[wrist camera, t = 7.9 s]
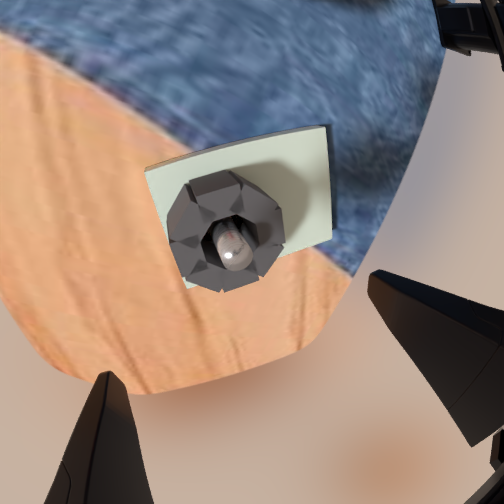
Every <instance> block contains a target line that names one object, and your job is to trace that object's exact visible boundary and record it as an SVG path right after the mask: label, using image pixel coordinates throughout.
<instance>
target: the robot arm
mask: <svg viewBox="0 0 504 504" xmlns="http://www.w3.org/2000/svg"><path fill="white" fill-rule="evenodd" d="M432 1H433V5H434V9H435V13H436V17H437V22H438V27H439V33H440V39H441V44H442V46H443V47H444V48H447V49H450V50H453V51H456V52H459V53H462V54H464V55H467V56H471V50H473V51H481V52H488V53H494V54H499V56H500V60H501V64H502V66H501V67H502V71H503V72H504V0H498V1H499V3H498V2H497V0H480V1H481V3H451V2H449V1H447V0H432ZM367 292H368V296H369V298H370V299H371V301H372V303H373V304H374V306H375V307H376V309H377V311H378V312H379V314H380V315H381V317H382V319H383V320H384V322H385V324H386V325H387V327H388V328H389V330H390V331H391V332H392V334H393V335H394V336H395V338H396V339H397V340H398V342H399V343H400V344H401V346H402V347H403V348H404V350H405V351H406V352H407V354H408V355H409V356H410V358H411V359H412V361H413V362H414V363H415V365H416V366H417V367H418V369H419V370H420V372H421V373H422V374H423V376H424V377H425V378H426V380H427V381H428V383H429V384H430V386H431V387H432V389H433V390H434V391H435V393H436V394H437V396H438V397H439V399H440V400H441V402H442V403H443V405H444V406H445V408H446V409H447V410H448V412H449V414H450V415H451V417H452V418H453V420H454V421H455V423H456V424H457V426H458V428H459V429H460V431H461V432H462V434H463V435H464V437H465V439H466V440H467V442H468V444H469V445H470V446H471V447H473V446H475V445H476V444H478V443H479V442H481V441H482V440H484V439H485V438H487V437H488V436H490V435H491V434H492V433H494V432H495V431H496V430H498V429H499V428H500V429H499V430H498V431H497V432H496V433H495V434H494V436H493V441H492V450H491V457H490V464H491V465H492V467H493V468H494V470H495V473H494V474H493V475H492V476H491V477H490V478H489V479H488V480H487V481H486V482H485V483H484V484H483V485H482V486H481V487H480V489H478V490H477V492H475V493H474V494H473V495H472V496H471V497H470V498H469V499H468V500H467V501H466V502H465V503H464V504H504V311H503V310H499V309H496V308H492V307H489V306H486V305H483V304H480V303H477V302H474V301H471V300H467V299H466V298H463V297H460V296H457V295H454V294H452V293H449V292H446V291H443V290H440V289H437V288H434V287H431V286H429V285H425V284H423V283H420V282H417V281H414V280H411V279H408V278H405V277H402V276H399V275H396V274H393V273H390V272H387V271H384V270H380V269H379V270H376V271H374V272H372V273H371V274H370V275H369V280H368V289H367ZM44 504H154V502H153V499H152V495H151V491H150V488H149V484H148V480H147V476H146V472H145V468H144V463H143V459H142V454H141V449H140V445H139V439H138V434H137V429H136V425H135V421H134V418H133V414H132V411H131V407H130V403H129V399H128V394H127V390H126V387H125V385H124V384H123V382H122V381H121V380H120V379H119V378H118V377H117V376H116V375H115V374H114V373H113V372H112V371H105V372H102V373H100V374H99V375H98V377H97V379H96V381H95V383H94V386H93V388H92V390H91V392H90V394H89V396H88V398H87V400H86V403H85V405H84V407H83V409H82V412H81V414H80V416H79V418H78V421H77V423H76V425H75V428H74V430H73V433H72V435H71V437H70V440H69V442H68V445H67V447H66V450H65V452H64V455H63V458H62V461H61V463H60V465H59V468H58V471H57V474H56V476H55V479H54V481H53V484H52V486H51V488H50V491H49V493H48V495H47V498H46V500H45V502H44Z"/></svg>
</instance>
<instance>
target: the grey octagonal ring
mask: <svg viewBox="0 0 504 504" xmlns="http://www.w3.org/2000/svg"><path fill="white" fill-rule="evenodd" d="M189 183H190V186H188V185H186V184H184V185H183V187H182V189H181V190H180V192H179V194H178V196H177V197H176V199H175V201H174V203H173V205H172V206H171V208H170V210H169V212H168V214H167V220H166V223H167V231H168V239H169V245H170V248H171V250H172V253H173V255H174V258H175V261H176V263H177V266H178V268H179V271H180V273H181V276H182V278H183V277H185V279H186V281H188V282H190V283H193V284H196V285H199V286H202V287H205V288H207V289H210V290H213V291H216V292H220V291H221V289H222V288H223V290H224V292H227V291H230V290H233V289H236V288H239V287H241V286H244V285H247V284H250V283H253V282H256V281H259V277H258V275H259V276H262V277H264V276H265V274H266V273H267V271H268V270H269V269H270V267H271V266H272V264H273V263H274V262H275V260H276V259H277V257H278V256H279V255H280V253H281V252H282V250H283V249H284V246H283V245H282V244H284V243H286V240H285V232H284V224H283V217H282V209H281V208H280V207H279V206H278V203H277V202H276V201H275V200H273V199H272V198H271V197H270V196H269V195H268V194H267V193H265V192H264V191H263V190H262V189H261V188H259V187H258V186H256V185H255V184H253V183H251V182H250V181H248V180H246V179H245V178H243V177H241V176H239V175H238V174H236V173H234V172H232V171H231V170H230V171H229V172H227V171H226V170H221V171H218V172H214V173H211V174H207V175H204V176H201V177H197V178H194V179H191V180H189ZM235 214H237V215H239V216H241V217H243V223H242V225H241V226H240V228H239V229H238V230H239V231H240V233H241V234H242V236H243V237H244V239H245V240H246V242H247V243H248V245H249V246H250V248H251V249H252V252H253V258H252V261H251V263H250V264H249V265H248V266H247V267H246V268H244V269H242V270H239V271H231V270H229V269H227V268H226V267H225V266H224V264H223V262H222V260H221V258H220V255H219V253H218V251H217V249H216V246H215V244H213V243H211V242H209V241H207V240H204V239H202V238H203V237H204V235H205V233H206V232H207V230H208V228H209V227H210V225H211V223H212V222H213V221H216V220H219V219H222V218H226V217H229V216H232V215H235Z"/></svg>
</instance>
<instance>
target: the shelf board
mask: <svg viewBox="0 0 504 504" xmlns="http://www.w3.org/2000/svg"><path fill="white" fill-rule="evenodd" d="M221 170H226V171H227V172H229V171H230V170H231V171H232V172H234V173H236V174H238V175H239V176H241V177H243V178H245V179H246V180H248V181H250V182H251V183H253V184H255V185H256V186H258V187H259V188H261V189H262V190H263V191H264V192H265V193H267V194H268V195H269V196H270V197H271V198H272V199H273V200H275V201H276V202H277V203H278V206H279V207H280V208H281V209H282V217H283V224H284V232H285V240H286V243H284V244H282V245H283V246H284V249H283V250H282V252H281V253H280V255H279V256H278V257H277V258H279V257H282V256H285V255H287V254H290V253H293V252H296V251H299V250H302V249H304V248H307V247H310V246H313V245H316V244H318V243H321V242H324V241H327V240H330V239H332V215H331V192H330V176H329V162H328V150H327V139H326V129H325V127H322V126H318V125H314V126H308V127H302V128H296V129H291V130H285V131H280V132H275V133H270V134H265V135H261V136H256V137H252V138H247V139H243V140H239V141H235V142H231V143H227V144H223V145H219V146H215V147H211V148H208V149H204V150H201V151H197V152H194V153H190V154H187V155H184V156H180V157H177V158H174V159H171V160H168V161H165V162H162V163H159V164H156V165H153V166H150V167H147V168H145V171H144V173H145V176H146V180H147V183H148V186H149V189H150V192H151V195H152V198H153V201H154V204H155V206H156V209H157V212H158V215H159V218H160V221H161V223H162V226H163V229H164V232H165V234H166V237H167V240H168V242H169V239H168V231H167V223H166V220H167V214H168V212H169V210H170V208H171V206H172V205H173V203H174V201H175V199H176V197H177V196H178V194H179V192H180V190H181V189H182V187H183V185H184V184H186V185H188V186H190V183H189V180H191V179H194V178H197V177H201V176H204V175H207V174H211V173H214V172H218V171H221ZM209 242H211V243H213V244H214V242H213V240H212V241H209ZM183 280H184V283H185V285H186V288H187V289H189V288H192V287H195V286H198V285H196V284H193V283H190V282H188V281H186V279H185V277H183Z"/></svg>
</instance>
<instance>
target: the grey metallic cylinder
mask: <svg viewBox="0 0 504 504" xmlns="http://www.w3.org/2000/svg"><path fill="white" fill-rule="evenodd" d="M208 230H209V232H210V235H211V237H212V239H213V242H214V244H215V246H216V249H217V251H218V253H219V255H220V258H221V260H222V262H223V264H224V266H225V267H226V268H227V269H229V270H231V271H239V270H242V269H244V268H246V267H247V266H248V265H249V264H250V263H251V261H252V258H253V252H252V249H251V248H250V246H249V245H248V243H247V242H246V240H245V239H244V237H243V236H242V234H241V233H240V231H239V230H238V228H237V226H236V225H235V223H234V222H233V220H232V219H231V217H230V216H229V217H226V218H222V219H219V220H216V221H213V222H212V223H211V225H210V227H209V228H208Z"/></svg>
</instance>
